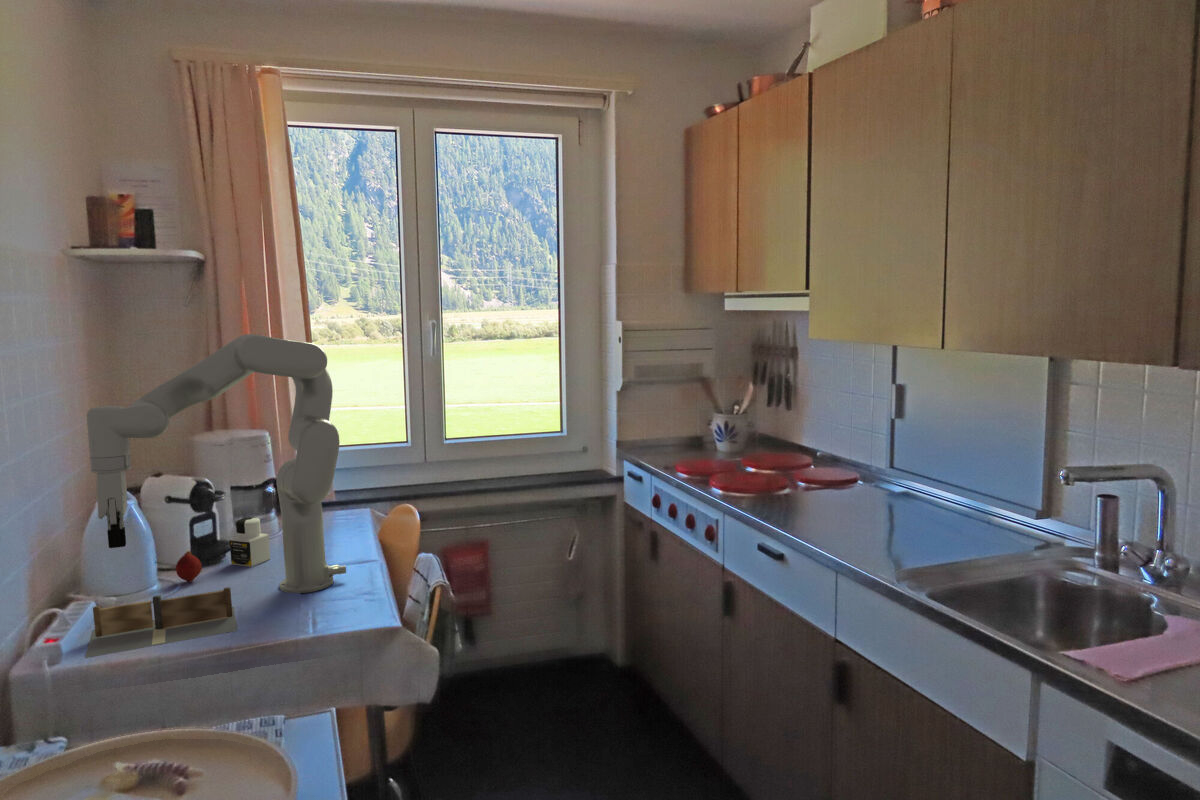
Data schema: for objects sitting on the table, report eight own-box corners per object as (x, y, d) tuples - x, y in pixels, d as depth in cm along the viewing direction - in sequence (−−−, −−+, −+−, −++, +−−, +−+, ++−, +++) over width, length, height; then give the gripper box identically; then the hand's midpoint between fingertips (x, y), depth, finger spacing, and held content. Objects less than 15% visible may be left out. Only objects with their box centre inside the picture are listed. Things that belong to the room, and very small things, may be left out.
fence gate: (153, 625, 183) (150, 597, 182) (153, 627, 181) (150, 599, 181) (96, 635, 178) (93, 606, 177) (95, 637, 177) (92, 608, 176)
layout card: (233, 608, 194) (233, 606, 194) (237, 632, 180) (237, 630, 180) (92, 632, 182) (92, 630, 182) (84, 659, 168) (84, 657, 168)
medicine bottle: (230, 564, 227) (227, 521, 226) (250, 556, 234) (247, 514, 232) (251, 567, 225) (247, 523, 223) (271, 559, 231) (267, 516, 230)
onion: (192, 586, 210) (189, 555, 209) (171, 585, 212) (169, 554, 211) (207, 578, 216) (204, 548, 215) (187, 577, 217) (184, 547, 216)
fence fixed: (232, 614, 190) (230, 584, 189) (232, 616, 188) (230, 586, 187) (155, 627, 183) (152, 596, 182) (155, 630, 181) (152, 598, 181)
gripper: (94, 459, 187) (101, 540, 189) (86, 471, 174) (94, 558, 176) (133, 456, 190) (139, 536, 192) (128, 467, 177) (135, 553, 179)
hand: (117, 546), depth 184 cm, fingers closed
